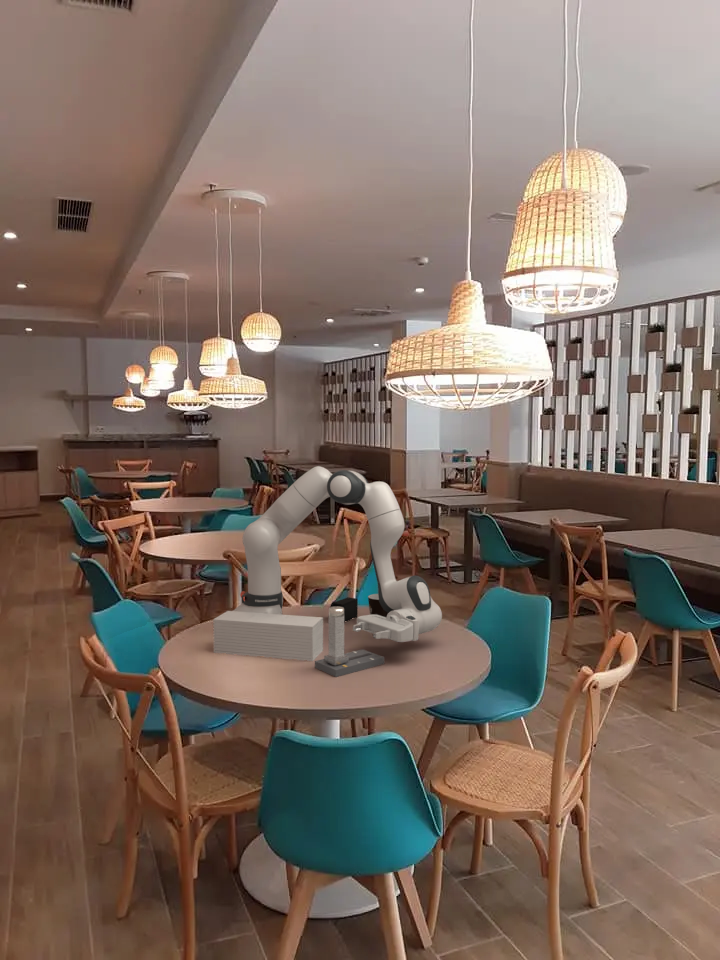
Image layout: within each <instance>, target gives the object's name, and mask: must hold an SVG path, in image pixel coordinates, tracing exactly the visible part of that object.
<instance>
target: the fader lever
mask: <svg viewBox="0 0 720 960" xmlns="http://www.w3.org/2000/svg"><path fill="white" fill-rule="evenodd" d="M344 654H345V623H344V608H343V607H338V606H335V607H330V606H329V608H328V654H325V655H323V659H324V661H325V662H327V663H330V664H332V665H334V666H335V665H339V664H343V663H347V662H349V657H348V656H346V655H344Z"/></svg>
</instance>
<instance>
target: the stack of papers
mask: <svg viewBox="0 0 720 960" xmlns="http://www.w3.org/2000/svg"><path fill="white" fill-rule="evenodd" d="M212 621H213V624H212V626H213V629H212V630H213V633H212V634H213V653H214V654H222V653H226V654H225V655H234V654H237V655H236V656H246V655H249V656H248V657H257V656H264V657H263V658H269V657H272V658H273V659H281V658H282V659H284V660H292V659H297V660H296V661H304V660H307V662H314V661H315V660H316V658H318V656H319V655H320V654H322V653H323V651H324V617H323V616H322V617H321V616H319V617H317V616H308V615H307V616H305V615H293V614H282V615H280V614H266V613H252V612H238V611H233V610H226V611H225V612H224V613H221V614H220V615H218V616H216V617H214V618H213V620H212ZM272 658H271V659H272Z"/></svg>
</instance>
